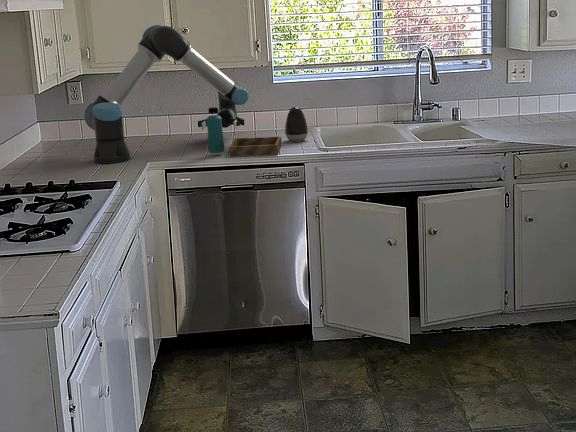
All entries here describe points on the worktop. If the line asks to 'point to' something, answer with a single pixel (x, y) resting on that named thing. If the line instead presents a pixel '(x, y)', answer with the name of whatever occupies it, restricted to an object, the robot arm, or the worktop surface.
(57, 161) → the worktop surface
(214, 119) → the beverage bottle
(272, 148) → the walnut tray
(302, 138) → the egg on grey base
